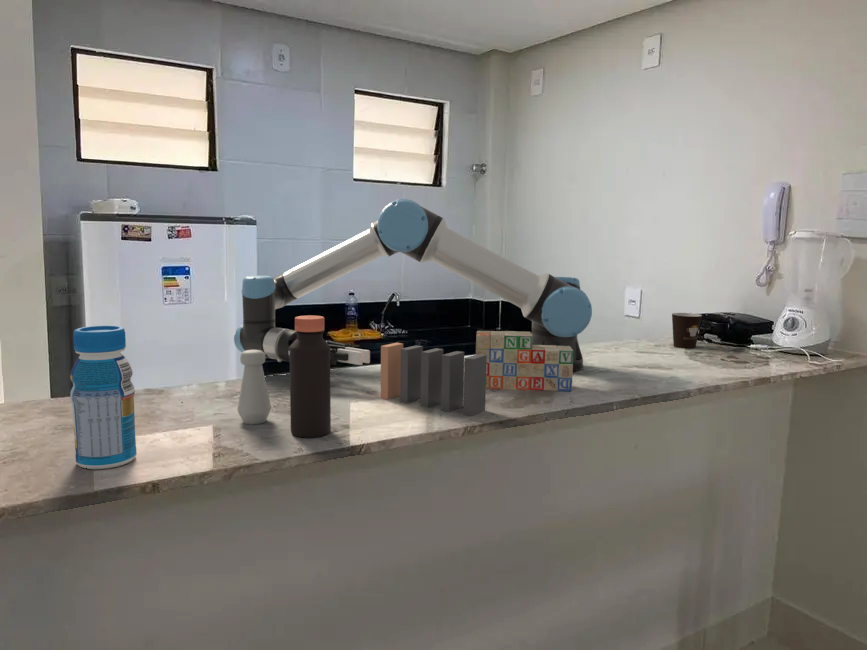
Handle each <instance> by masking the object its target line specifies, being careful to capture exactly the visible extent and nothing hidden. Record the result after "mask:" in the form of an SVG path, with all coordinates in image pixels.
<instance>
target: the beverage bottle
mask: <svg viewBox="0 0 867 650" xmlns="http://www.w3.org/2000/svg"><path fill="white" fill-rule="evenodd" d="M72 338H73V349H74V351H75V353H76V354H79V357H77V359H76V360H75V362H74V364H73V366H72V368H71V370H70V374H69V375H70V377H69V378H70V381H71V382H72V388H71V390H70V392H69V393H70V401H71V406H72V407H71V408H72V420H73V421H72V422H73V432H74V433H73V435H74V448H75V462H76V464H77V466H78V467H80V468H83V469H86V468H87V469H88V470H106V469H113V468H117V467H121V466H124V465H126V464H130V462H132V461H133V460H134V459H135V458H136V456H137V454H138V453H137V445H136V444H137V443H136V441H137V439H136V419H135V418H136V417H135V401H134V399H135V397H134V396H135V392H136V391H135V386H134V383H132V376H133V375H134V374H133V369H132V366H131V364H130V362H129V360H128V359H127V358H126V356H125V355H123V353H122V352H124V351H125V349H126V345H127V343H126V331H125V328H124V327H123V326H118V325H93V326H85V327H84V326H83V327H79V328H76V329H74V330H73V337H72Z"/></svg>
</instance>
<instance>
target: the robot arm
mask: <svg viewBox="0 0 867 650" xmlns="http://www.w3.org/2000/svg"><path fill="white" fill-rule="evenodd" d="M397 253H401V254H403V255H406V256H408V257H410V258H411V259H414V260H415V261H417V262H419V263H421V264H422V263H426V262H428V261H429V262H432V263H434V264H436V265H439V266H440V267H441V268H444V269H446V270H447V271H450V272H452V273H454V274H456V276H459V277H461V278H463V279H466V280H467V281H469V282H471V283H473V284H475V285H477V286H478V287H480V288H482V289H484V290H486V291H487V292H490V293H492V294H493V295H495V296H496V297H500V298H501V299H503V300H505V301H507V302H508V303H511V304H512V305H515V306H516V307H518V308H519V309H521V310H520V311H521V313H522V316H523V317H524V318H525V319H526V320H529V321H531V334H532V345H556V346H570V347H571V348H572V350H573V372H576V371H580V370H582V369H583V367H584V359H583V358H584V357H583V355H582V351H581V346H580V344H579V339H578V335H579V334H581V333H582V332H583V331H584V330H585V329H586V328H587V327H588V326H589V325H590V322H591V319H592V315H593V308H592V303H591V301H590V299H589V297H588V295H587V293H585V292H584V291H583V290H582V289H581V284H580V279H579V278H577V277H572V276H571V277H569V276H568V277H567V276H553V275H552V274H550V273H547V272H546V273H543V274H540V275H537V274H536V273H533V272H532V271H529V269H527V268H524V267H523V266H521V265H519V264H517V263H515V262H513V261H511V260H510V259H508V258H505V257H504V256H502V255H500V254H498V253H496V252H494V251H492V250H490V249H489V248H486V247H485V246H483V245H481V244H479V243H477V242H475V241H474V240H471V239H469V238H468V237H466V236H464V235H462V234H460V233H458V232H456V231H454V230H452V229H450V228H449V227H448V226H447V222H446V220H445V218H444V217H442V216H440V215H439V214H436V213H435V212H432V211H431V210H429V209H427V208H425V207H424V206H421V205H420V204H418V203H417V202H416V201H414V200H411V199H406V198H399V199H395V200H393V201H391V202H388V204H386V205H385V206H384V207H383V209H382V210H381V211H380V213H379V215H378V218H377V220H375V221H372V222H370V226H369V228H368V229H365V230H363V231H362V232H359V233H358V234H356V235H355V236H352V237H350V238H349V239H346V240H344V241H343V242H341V243H339V244H337V245H334V246H333V247H331V248H329V249H327V250H325V251H322V252H321V253H320V254H317V255H316V256H314V257H312V258H310V259H308V260H306V261H304V262H303V263H300V264H297V265H296V266H295V267H292V268H291V269H289V270H286V271H285V272H283V273H281V274H279V275H277V276H275V277H273V276H270V275H247V276H244V277H243V279H242V287H241V288H242V289H241V295H242V313H243V314H242V321H243V322H242V324H241V325H240V326H238V327H237V328H236V331H235V334H234V336H233V343H234V345H235V347H236V349H237V350H238V351H239V352H241V353H242V352H243V351H246V350H261V351H263V352H264V353H265V359H271V360H277V362H278V363H281V362H282V361H283V362H287V363H290V346H291V345H292V344H293V342H294V341H295V340H296V339H297V334H296V333H295V332H296V331H295V329H289V328H282V327H276V310H278V309H282V308H284V307H285V306H287V305H288V304H290V303H292V302H294V301H296V300H298V299H300V298H302V297H303V296H306V295H307V294H309V293H312V292H313V291H316V290H318V289H320V288H321V287H323V286H325V285H327V284H329V283H331V282H334V281H335V280H337V279H339V278H341V277H343V276H345V275H347V274H349V273H351V272H353V271H355V270H357V269H360V267H363V266H365V265H366V264H369V263H371V262H373V261H374V260H376V259H378V258H380V257H383V256H386V257H389V258H390V257H391V256H393V255H395V254H397ZM325 341H326V342H327V343H328V344H329V346H330V365H333V366H334V365H337V362H339V363H347V364H352V365H357V366H363V363H364V364H370V363H371V351H370V350H369V349H362V348H355V347H353V345H351V344H350V343H349V342H348V343H342V342H336V341H332V340H331V339H325Z"/></svg>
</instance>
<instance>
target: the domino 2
mask: <svg viewBox="0 0 867 650" xmlns="http://www.w3.org/2000/svg"><path fill="white" fill-rule="evenodd" d="M442 355H444V349H443V348H438V347H437V348H436V347H435V348H431V349H427V350H423V352H421V399H420V407H422V408H430V407H433V406H436V405H439V404H441V392H442Z"/></svg>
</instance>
